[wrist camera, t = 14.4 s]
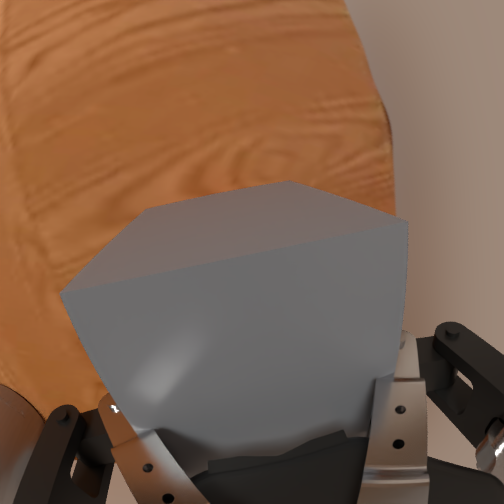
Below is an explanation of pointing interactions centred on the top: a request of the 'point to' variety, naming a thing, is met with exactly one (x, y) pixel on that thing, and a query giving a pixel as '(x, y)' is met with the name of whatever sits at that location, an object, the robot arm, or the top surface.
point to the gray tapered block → (245, 319)
